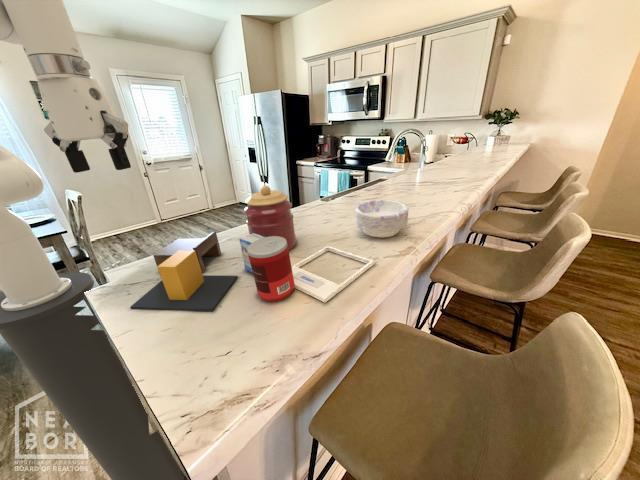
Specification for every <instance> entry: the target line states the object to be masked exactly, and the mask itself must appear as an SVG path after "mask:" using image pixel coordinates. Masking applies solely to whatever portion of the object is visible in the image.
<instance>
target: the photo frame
mask: <svg viewBox="0 0 640 480" xmlns="http://www.w3.org/2000/svg"><path fill="white" fill-rule="evenodd" d="M326 252H332V253H334V254H337V255H340V256H342V257H343V256H344V257H347V258H350V259H353V260H355V261H358V262H361V263H365V264H364V265H363V266H362V267H361V268H359V269H358V270H357V271H356V272H354V273H353V274H351V275H350V276H349V277H347V278H346V279H345V280H344V281H342V282H341V283H339V284H338V283H336V282H334V281H331V280H328V279H327V278H324V277H322V276H319V275H317V274H314V273H313V272H310V271H307V270H305V269H302V268H301V267H303V266H305V265H306V264H307V263H309V262H310V261H313V260H314V259H316V258H317V257H319V256H321V255H322V254H324V253H326ZM374 265H375V260H373V259H371V258H367V257H363V256H361V255H358V254H354V253H351V252H348V251H344V250H342V249H338V248H335V247H332V246H330V245H326V246H325V247H323V248H321V249H319V250H318V251H316V252H314V253H311V255H308V256H307V257H305V258H304V259H302V260H300V261H299V262H296V263H295V264H293V265H291V267H292V273H293V279H294V289H297V290H298V291H300V292H301V293H302V292H303V293H304V294H307V295H309V296H310V297H313V298H315V299H317V301H318V300H319V301H321V302H323V303H324V304H326V303H327V302H328V301H329V300H331V299H332V298H333V297H335V296H336V295H337V294H339V293H340V292H341V291H342V290H343V289H345V288H346V287H347V286H349V285H350V284H351V283H352V282H354V281H355V280H356V279H357V278H359V277H360V276H361V275H363V273H365V272H366V271H367V270H369V269H370V268H371V267H373V266H374Z"/></svg>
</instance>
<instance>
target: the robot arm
mask: <svg viewBox="0 0 640 480" xmlns="http://www.w3.org/2000/svg"><path fill="white" fill-rule="evenodd" d="M1 41H2V42H5V43H9V44H14V45H21V46H22V48H23V50H24V53H25V55H26V57H27V60H28V61H29V62H28V63H29V64H30V67H31V68H32V70H33V73H34V75H35V77H36V80H37V86H38V90H39V93H40V97H41V101H42V103H43V106H44V109H45V111H46V114H47V117H48V119H49V121H50V122H49V123H48V124H47V125H46V126H45V127H44V128H43V131H44V132H45V134H46V135H47V136H48V137H49V139H51V141H52V143H53V144H54V145H56V146H57V147H58V148H59V150H60V151H61V152H62V153H64V155H65V157H66V159H67V161H68V163H69V166H70V167H71V171H73V173H75V174H76V173H82V172H87V171H88V172H89V171H90V170H91V167H90V164H89V163H88V160H87V158H86V156H85V153H84V151H83V150H82V149H80V147H81V146H80V145H81V141H89V140H98V139H99V140H102V141H103V142H104V143H105V144H106V145H108V147H109V148H108V149H107V150H108V153H109V156H110V158H111V161H112V164H113V166H114V168H115V170H116V171H122V170H127V169H131V168H132V165H131V162H130V159H129V156H128V153H127V151H126V149H125V148H126V147H127V141H128V139H129V134H128V133H129V123H128V121H126V120H124V119H121V118H119V117H117V116H115V113H114V112H113V109H112V107H111V104H110V102H109V100H108V98H107V96H106V95H105V92H104V91H103V88H102V87H101V86H100V84H99V83H98V80H97V79H95V78H92V76H91V73H90V70H91V64H90V63H89V62H88V61H87V60H86V59H85V57H84V54H83V51H82V48H81V46H80V43H79V40H78V38H77V35H76V32H75V30H74V27H73V24H72V22H71V20H70V16H69V14H68V11H67V9H66V5H65V3H64V1H63V0H0V42H1ZM79 149H80V150H79ZM44 188H45V185H44V180H43V178H42V177H41V175H40V174H39V173H38V172H37V171H36V169H34V168H33V167H32V166H31V165H29V164H28V163H27V162H26V161H24V160H23V159H21V158H20V156H17V155H16V154H14V153H13V152H12V151H10V150H9V149H7V148H6V147H4V146H3V145H2V144H0V292H2V293H3V295H6V298H5V299H4V300H3V301H2V303H1V307H2V308H3V309H4V310H6V311H19V310H24V309H28V308H31V307H35V306H38V305H40V304H43V303H46V302H48V301H50V300H52V299H54V298H56V297H58V296H60V295H61V294H63V293H64V292H66V291H67V290H68V289H69V288H70V287H71V285H72V282H71V281H70V279H68V278H59V276H58V275H59V274H58V273H57V270H56V269H55V267H54V265H53V263H52V262H51V260H50V259H49V256H48V255H47V253H46V251H45V249H44V248H43V246H42V245H41V243H40V241H39V239H38V237H37V236H36V234H35V232H34V231H33V229H32V227H31V225H30V224H29V223H28V221H26V220H25V218H23V217H21V216H20V215H18V214H17V213H15V212H13V211H12V210H10V209H8V208H7V207H9V206H13V205H16V204H20V203H23V202H26V201H30V200H32V199H35V198H38V197H39V196H40V195H41V194H42V193H43V192H44Z"/></svg>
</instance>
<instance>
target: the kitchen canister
mask: <svg viewBox="0 0 640 480" xmlns="http://www.w3.org/2000/svg"><path fill="white" fill-rule="evenodd" d="M288 198H289V196H288V194H286V193H284V192H282V191H281V190H276V189H275V190H273V189H272V190H271V187H270V186H269V185H262V186H261V187H260V191H258V192H254V193H252V194H250V196H249V197H247V198H246V200H245V204H246V205H247V206H245V207H244V209H243V212H244V214H245V215H246V218H247V219H246V221H245V222H246V226H247V229H248V230H247V231H248V235H249V234H252V233H255V234H258V235H261V236H263V237H270V236H279V237H283V238H285V239H286V241H287V244H288V249H289V251H290V250H292V249H293V248H294V247H295V246H296V242H297V234H296V230H295V224H294V214H293V213H292V210H291V209H292V206H293V204H292V202H291V201H289V200H288Z"/></svg>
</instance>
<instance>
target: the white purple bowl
mask: <svg viewBox="0 0 640 480" xmlns="http://www.w3.org/2000/svg"><path fill="white" fill-rule="evenodd" d="M408 219H409V207H408V206H407V205H406V204H404V203H403V202H400V201H396V200H391V199H390V200H389V199H373V200H368V201H363V202H361V203H359V204H358V205H356V206H355V208H354V220H355V225H356V227H357V228H359V229H361V230H362V231H363V232H364V234H366V235H367V236H370V237H372V238H378V239H383V238H384V239H385V238H390V237H393V236H395V235H397V234H398V233H399V231H400V230H403V229H404V228H405V227H406V226H407V225H408Z"/></svg>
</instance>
